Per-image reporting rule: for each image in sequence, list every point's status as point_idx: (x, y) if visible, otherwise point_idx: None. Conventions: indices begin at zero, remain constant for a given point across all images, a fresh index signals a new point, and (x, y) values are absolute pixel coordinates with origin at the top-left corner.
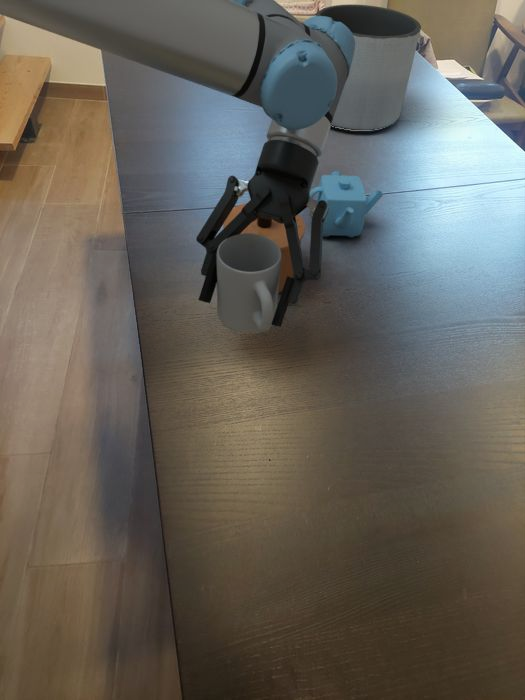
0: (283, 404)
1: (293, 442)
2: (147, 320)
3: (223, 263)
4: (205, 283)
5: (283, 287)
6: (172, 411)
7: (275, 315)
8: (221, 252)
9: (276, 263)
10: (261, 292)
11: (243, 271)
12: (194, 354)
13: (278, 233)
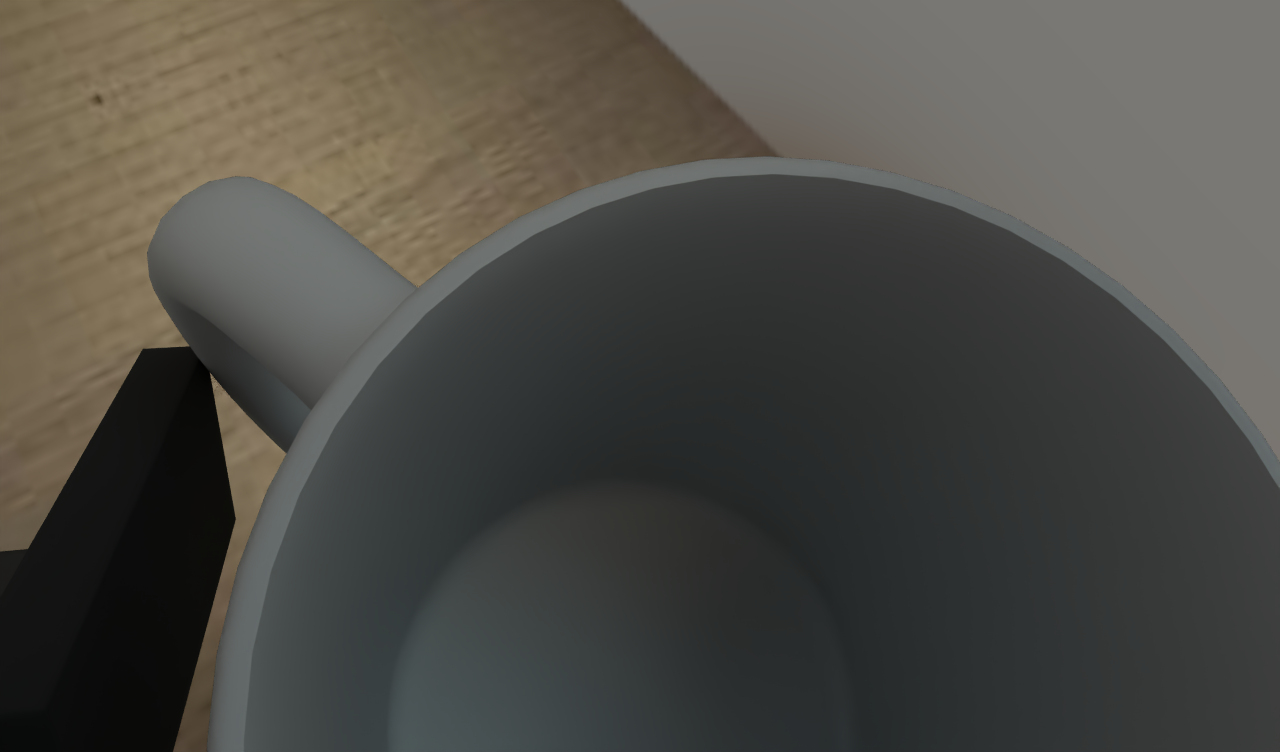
0: None
1: (8, 227)
2: None
3: (994, 209)
4: None
5: (102, 585)
6: (653, 134)
7: (171, 388)
8: (1206, 586)
9: (228, 660)
10: (306, 221)
11: (653, 189)
12: None
13: None
